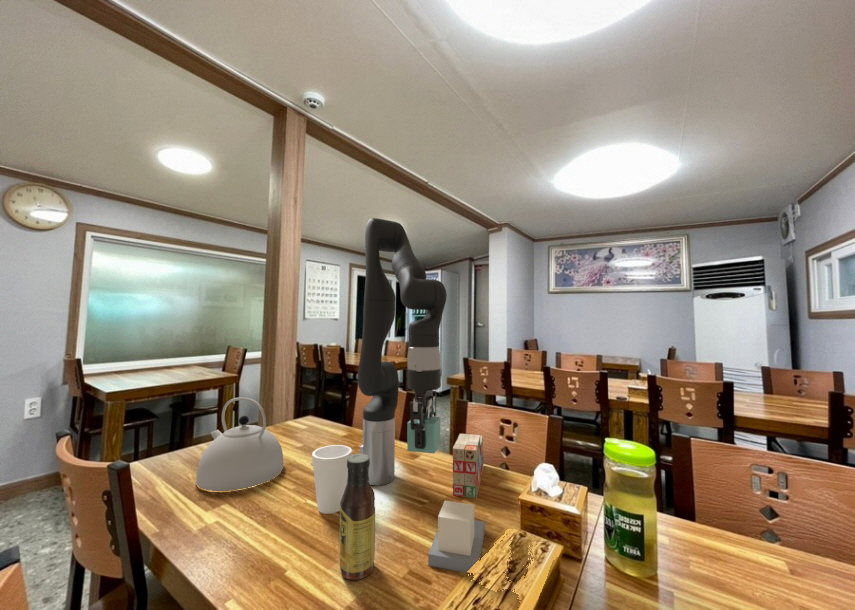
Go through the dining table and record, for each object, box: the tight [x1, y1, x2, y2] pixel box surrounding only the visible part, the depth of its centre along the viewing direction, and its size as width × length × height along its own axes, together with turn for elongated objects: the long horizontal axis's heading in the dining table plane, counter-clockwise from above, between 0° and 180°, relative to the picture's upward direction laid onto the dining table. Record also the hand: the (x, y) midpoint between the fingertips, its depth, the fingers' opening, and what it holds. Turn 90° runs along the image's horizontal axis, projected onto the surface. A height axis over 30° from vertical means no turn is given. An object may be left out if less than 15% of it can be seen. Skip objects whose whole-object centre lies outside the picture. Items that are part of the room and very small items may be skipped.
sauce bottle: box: [338, 453, 376, 581], centre depth 60 cm, size 6×6×20 cm
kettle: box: [195, 397, 284, 491], centre depth 101 cm, size 25×23×22 cm
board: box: [427, 519, 486, 574], centre depth 66 cm, size 9×13×2 cm
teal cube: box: [406, 416, 441, 454], centre depth 75 cm, size 6×6×6 cm
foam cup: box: [311, 444, 353, 515], centre depth 82 cm, size 10×9×13 cm
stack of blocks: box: [452, 433, 484, 499], centre depth 96 cm, size 21×6×12 cm, turn 166°
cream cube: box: [437, 500, 475, 556], centre depth 65 cm, size 6×6×6 cm
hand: (424, 442), depth 74 cm, fingers closed on teal cube, 6 cm apart
